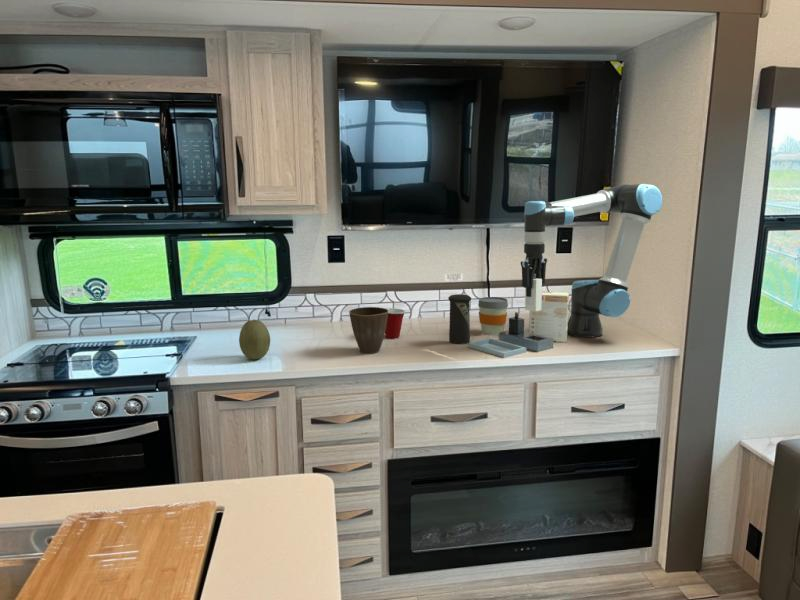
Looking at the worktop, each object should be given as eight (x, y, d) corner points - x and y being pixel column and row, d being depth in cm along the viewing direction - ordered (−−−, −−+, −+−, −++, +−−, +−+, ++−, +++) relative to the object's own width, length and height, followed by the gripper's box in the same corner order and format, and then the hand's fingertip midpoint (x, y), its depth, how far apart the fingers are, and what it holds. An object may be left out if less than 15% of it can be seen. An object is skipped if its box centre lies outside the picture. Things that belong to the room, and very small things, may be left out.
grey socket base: (514, 339, 245) (515, 309, 243) (553, 350, 229) (554, 317, 227) (498, 343, 240) (499, 312, 237) (537, 354, 224) (538, 320, 222)
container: (464, 347, 234) (465, 297, 231) (444, 344, 239) (444, 295, 235) (473, 342, 242) (474, 294, 238) (454, 339, 246) (454, 292, 243)
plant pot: (375, 358, 220) (375, 316, 217) (342, 353, 227) (341, 312, 224) (395, 349, 233) (395, 309, 230) (363, 344, 240) (362, 305, 237)
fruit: (276, 355, 225) (274, 317, 222) (262, 364, 215) (260, 323, 212) (249, 353, 228) (247, 315, 225) (234, 362, 217) (231, 322, 215)
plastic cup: (409, 339, 248) (409, 311, 246) (384, 341, 245) (383, 312, 242) (401, 333, 258) (401, 306, 256) (377, 335, 255) (376, 307, 252)
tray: (490, 344, 239) (490, 337, 238) (526, 354, 224) (526, 347, 223) (468, 349, 232) (468, 342, 231) (504, 359, 217) (504, 353, 216)
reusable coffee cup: (485, 338, 248) (486, 303, 245) (472, 331, 260) (473, 297, 257) (512, 335, 252) (513, 301, 249) (498, 329, 263) (499, 296, 261)
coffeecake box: (567, 338, 246) (569, 292, 243) (565, 342, 240) (568, 295, 236) (530, 335, 251) (532, 290, 248) (528, 340, 245) (529, 293, 241)
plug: (541, 309, 227) (542, 273, 224) (535, 311, 225) (536, 274, 222) (530, 308, 231) (531, 272, 228) (525, 309, 228) (525, 273, 226)
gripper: (539, 240, 231) (538, 299, 235) (512, 244, 220) (511, 306, 225) (556, 241, 225) (554, 302, 230) (528, 245, 215) (527, 308, 219)
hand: (533, 303), depth 227 cm, fingers closed on plug, 3 cm apart
